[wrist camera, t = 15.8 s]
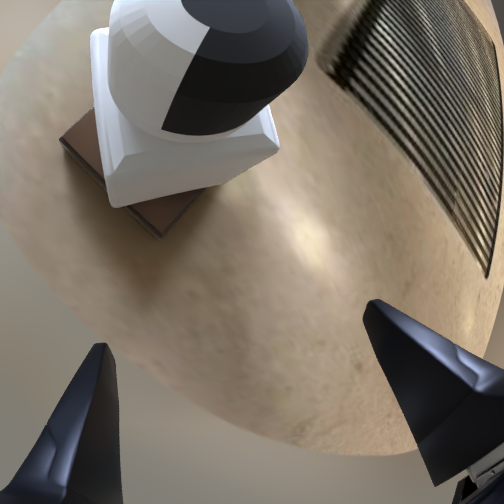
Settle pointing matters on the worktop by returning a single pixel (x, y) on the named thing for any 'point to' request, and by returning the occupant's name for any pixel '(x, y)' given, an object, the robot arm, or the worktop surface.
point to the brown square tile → (89, 158)
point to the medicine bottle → (190, 91)
